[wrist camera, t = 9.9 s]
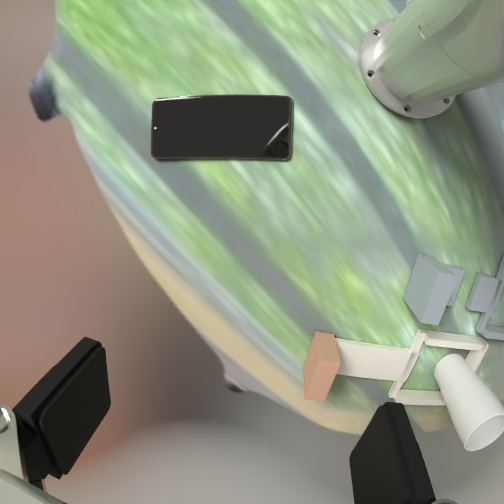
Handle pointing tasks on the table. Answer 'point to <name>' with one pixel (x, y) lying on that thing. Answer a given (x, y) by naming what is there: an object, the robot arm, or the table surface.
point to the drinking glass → (469, 403)
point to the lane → (380, 363)
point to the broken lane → (452, 293)
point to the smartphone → (222, 127)
